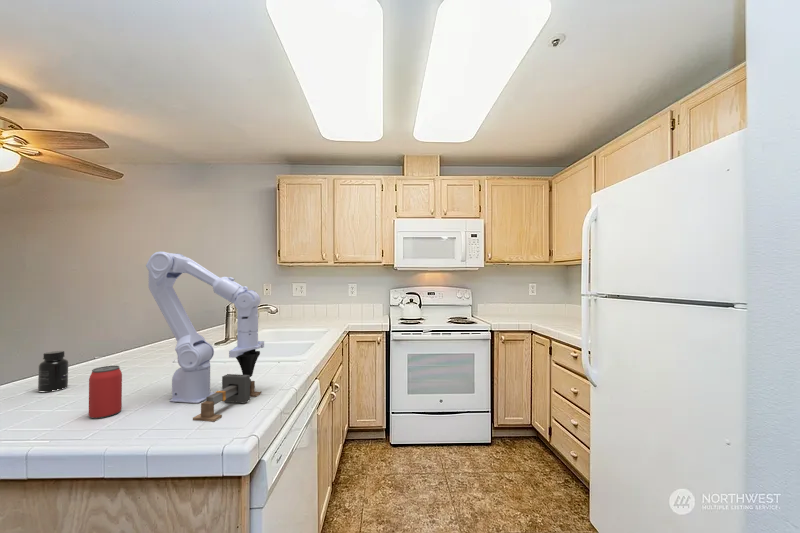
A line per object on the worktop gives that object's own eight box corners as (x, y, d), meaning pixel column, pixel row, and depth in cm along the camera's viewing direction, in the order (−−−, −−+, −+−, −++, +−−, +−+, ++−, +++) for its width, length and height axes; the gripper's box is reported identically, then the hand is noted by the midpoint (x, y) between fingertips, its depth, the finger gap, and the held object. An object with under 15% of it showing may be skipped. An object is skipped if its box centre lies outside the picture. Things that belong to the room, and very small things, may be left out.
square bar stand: (192, 420, 86) (192, 399, 86) (243, 392, 106) (243, 375, 106) (214, 421, 85) (214, 400, 85) (261, 393, 105) (261, 376, 105)
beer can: (94, 421, 86) (94, 372, 86) (84, 416, 89) (85, 369, 90) (125, 412, 92) (126, 366, 92) (115, 407, 95) (116, 363, 95)
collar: (222, 401, 97) (222, 376, 98) (227, 398, 100) (227, 374, 100) (244, 402, 96) (244, 377, 96) (249, 399, 98) (249, 374, 99)
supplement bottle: (71, 388, 113) (71, 351, 113) (41, 394, 107) (42, 355, 107) (64, 385, 116) (64, 349, 117) (35, 390, 111) (36, 353, 111)
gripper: (245, 335, 96) (245, 384, 96) (272, 327, 110) (272, 370, 110) (222, 334, 97) (222, 383, 97) (252, 327, 112) (252, 369, 111)
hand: (247, 376), depth 103 cm, fingers closed
